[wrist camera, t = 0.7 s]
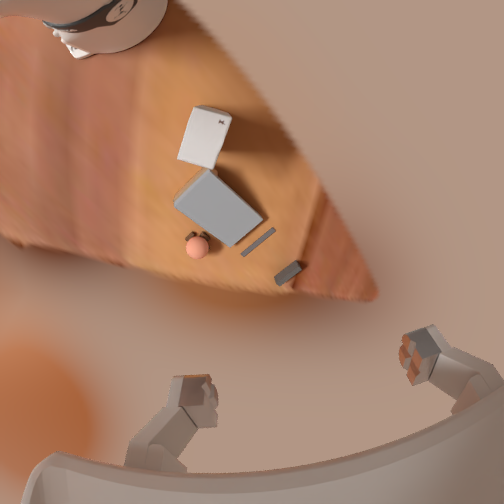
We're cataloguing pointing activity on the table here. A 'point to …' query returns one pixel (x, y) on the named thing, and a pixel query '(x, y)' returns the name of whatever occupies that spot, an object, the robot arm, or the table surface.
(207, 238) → the stand
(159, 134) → the table surface
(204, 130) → the skincare box
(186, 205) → the ramp
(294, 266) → the rail
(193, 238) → the ball
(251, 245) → the line
